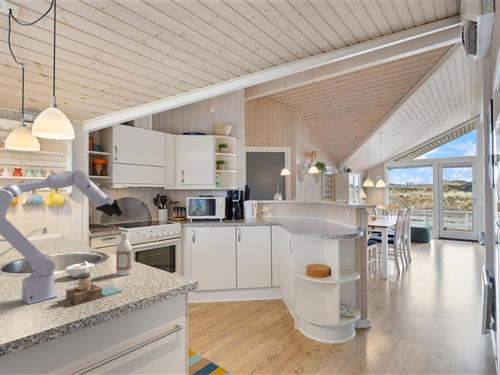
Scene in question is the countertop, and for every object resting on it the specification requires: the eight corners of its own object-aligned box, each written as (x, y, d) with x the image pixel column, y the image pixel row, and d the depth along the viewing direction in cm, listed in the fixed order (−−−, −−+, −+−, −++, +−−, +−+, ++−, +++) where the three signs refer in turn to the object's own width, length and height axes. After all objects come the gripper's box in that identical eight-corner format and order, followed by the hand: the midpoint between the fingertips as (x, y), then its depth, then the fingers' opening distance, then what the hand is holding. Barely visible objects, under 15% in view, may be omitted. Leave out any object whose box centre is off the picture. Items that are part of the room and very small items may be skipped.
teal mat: (104, 296, 110) (104, 295, 110) (93, 291, 115) (93, 290, 115) (122, 291, 115) (122, 290, 115) (111, 286, 121) (111, 285, 121)
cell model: (62, 277, 134) (62, 262, 134) (89, 271, 143) (89, 258, 143) (69, 281, 127) (69, 266, 127) (98, 275, 136) (98, 261, 136)
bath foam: (114, 276, 135) (114, 234, 135) (117, 272, 142) (118, 231, 142) (130, 275, 137) (130, 233, 137) (132, 271, 144) (133, 231, 144)
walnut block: (76, 305, 102) (76, 295, 102) (66, 298, 108) (66, 289, 108) (101, 297, 109) (102, 288, 109) (91, 292, 115) (91, 283, 115)
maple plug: (80, 301, 106) (80, 276, 106) (76, 298, 108) (76, 274, 108) (92, 298, 109) (92, 274, 109) (87, 295, 111) (87, 272, 111)
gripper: (108, 185, 120) (130, 207, 127) (93, 187, 129) (114, 208, 136) (96, 197, 116) (119, 220, 123) (81, 199, 125) (104, 219, 132)
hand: (116, 214), depth 129 cm, fingers open, 7 cm apart
